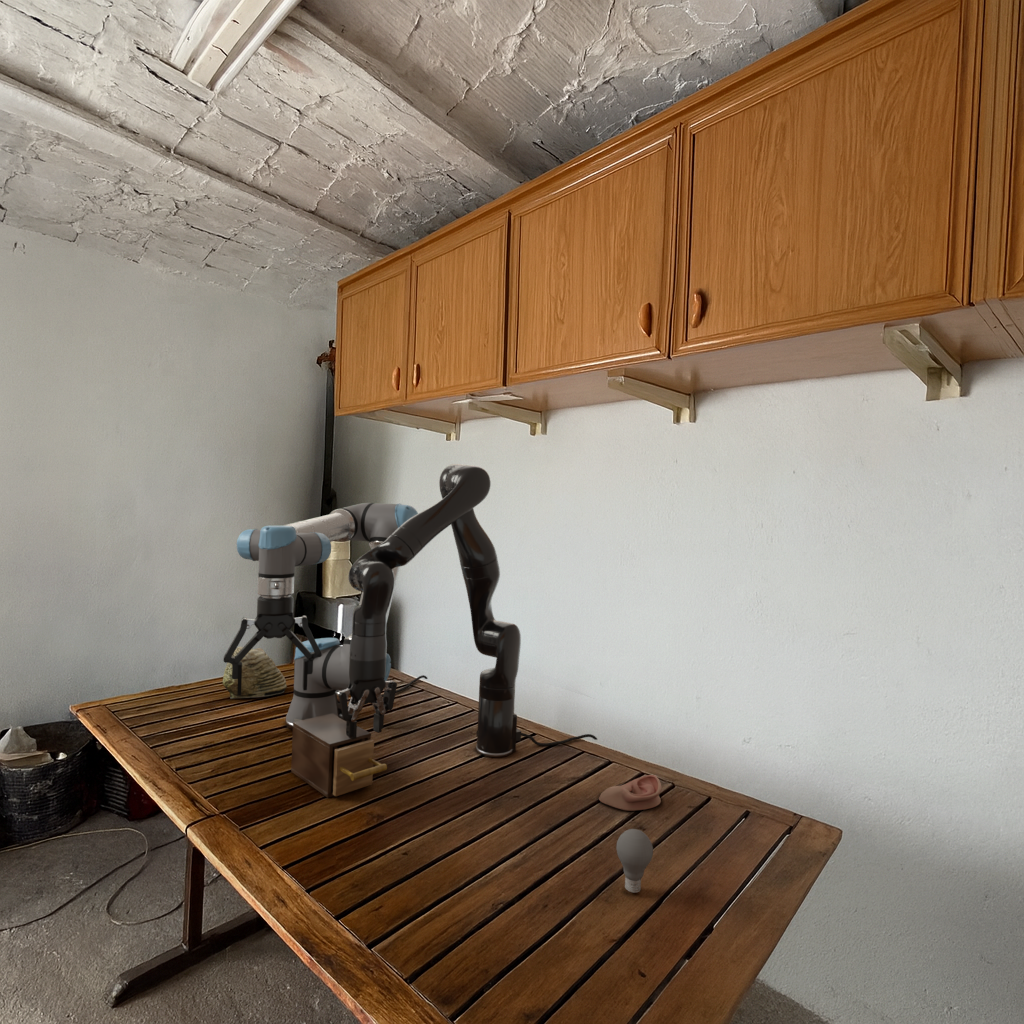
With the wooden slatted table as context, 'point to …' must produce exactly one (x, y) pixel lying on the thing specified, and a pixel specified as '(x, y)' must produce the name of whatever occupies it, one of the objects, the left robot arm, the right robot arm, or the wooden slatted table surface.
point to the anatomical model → (634, 794)
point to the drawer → (354, 766)
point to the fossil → (255, 676)
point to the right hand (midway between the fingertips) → (365, 734)
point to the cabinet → (319, 749)
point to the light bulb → (634, 857)
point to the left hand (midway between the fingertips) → (272, 691)
